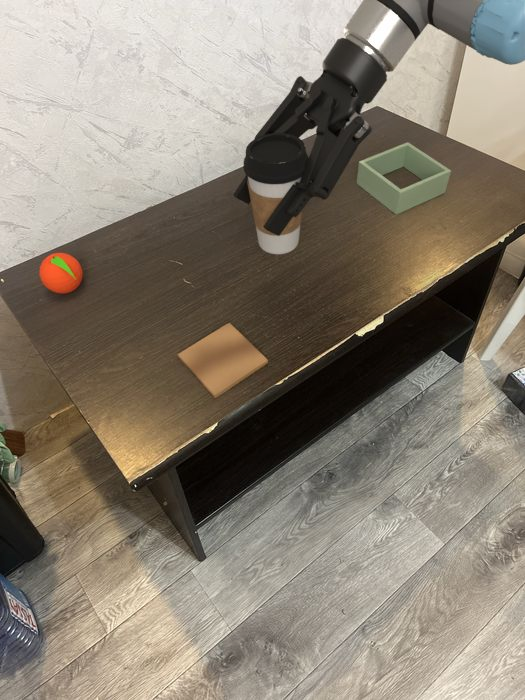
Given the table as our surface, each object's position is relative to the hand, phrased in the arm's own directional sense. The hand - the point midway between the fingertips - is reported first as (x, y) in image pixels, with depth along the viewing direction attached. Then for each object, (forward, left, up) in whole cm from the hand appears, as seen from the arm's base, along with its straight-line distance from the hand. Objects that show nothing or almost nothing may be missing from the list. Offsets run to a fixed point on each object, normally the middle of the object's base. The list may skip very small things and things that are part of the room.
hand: (255, 214), depth 68 cm
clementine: (+16, +31, -20) cm, 40 cm away
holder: (+23, -36, -19) cm, 47 cm away
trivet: (-8, +9, -19) cm, 23 cm away
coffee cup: (+1, -3, -6) cm, 7 cm away
